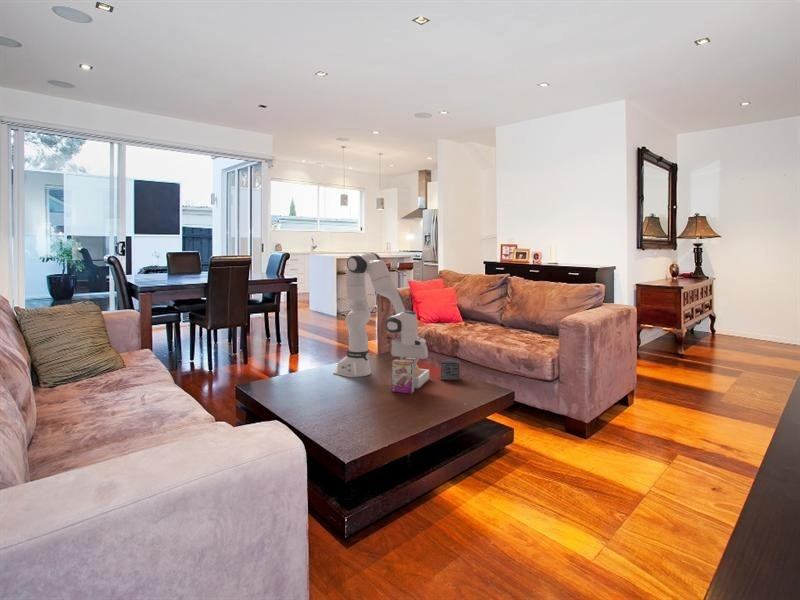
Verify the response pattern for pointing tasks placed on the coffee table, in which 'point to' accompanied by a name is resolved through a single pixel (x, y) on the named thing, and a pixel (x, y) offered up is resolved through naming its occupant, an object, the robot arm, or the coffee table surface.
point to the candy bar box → (403, 376)
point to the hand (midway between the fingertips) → (409, 365)
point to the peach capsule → (416, 372)
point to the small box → (450, 370)
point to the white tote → (421, 378)
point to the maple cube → (410, 359)
